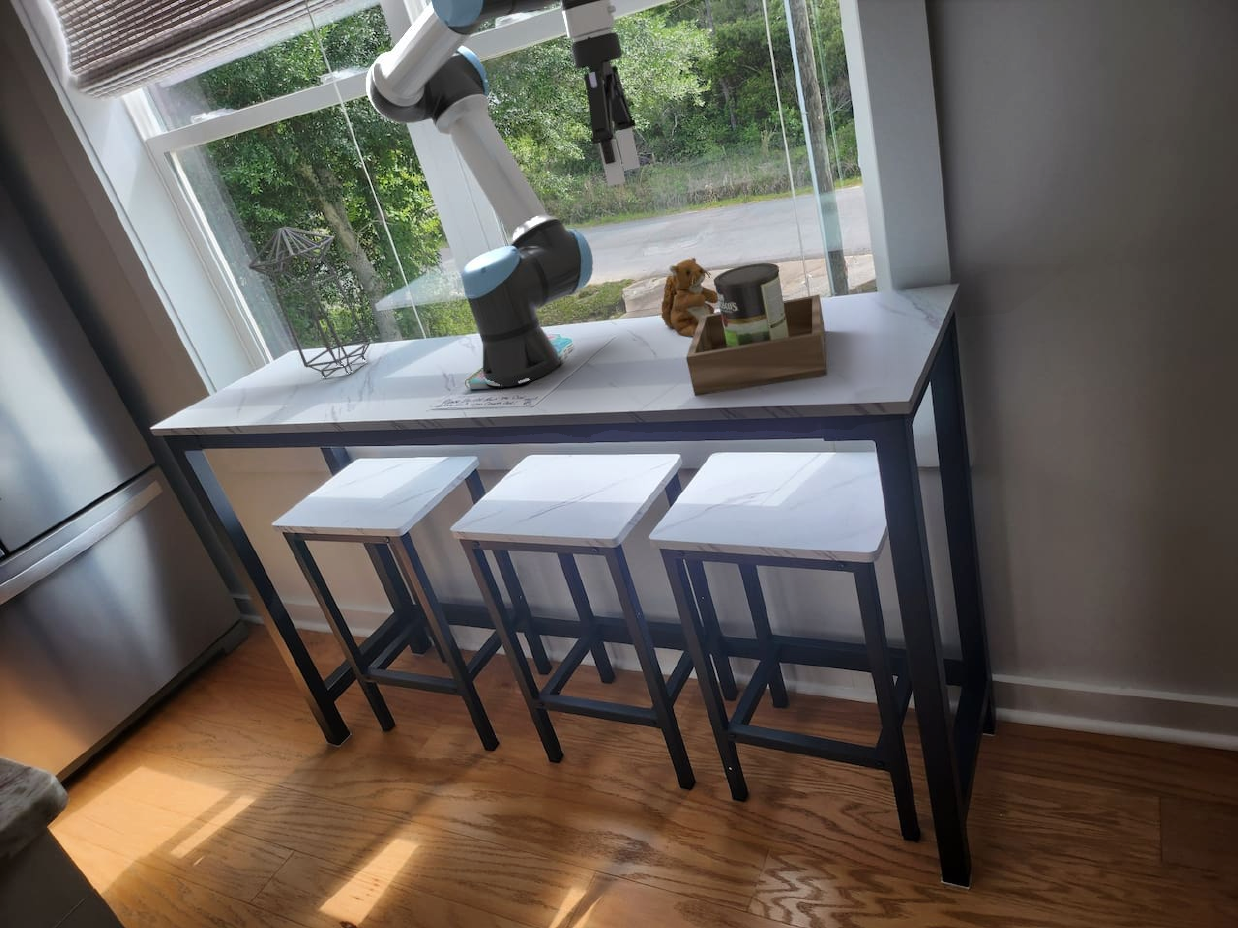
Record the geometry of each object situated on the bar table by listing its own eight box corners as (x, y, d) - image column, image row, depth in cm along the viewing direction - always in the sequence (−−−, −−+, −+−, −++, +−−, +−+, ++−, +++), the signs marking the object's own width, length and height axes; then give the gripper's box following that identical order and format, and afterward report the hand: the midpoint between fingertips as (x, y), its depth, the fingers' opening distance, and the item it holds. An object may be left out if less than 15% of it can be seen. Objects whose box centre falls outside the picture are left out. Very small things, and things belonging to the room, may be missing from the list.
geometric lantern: (352, 380, 195) (286, 230, 181) (300, 389, 202) (231, 244, 187) (389, 354, 208) (330, 211, 193) (338, 363, 214) (278, 225, 200)
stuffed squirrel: (694, 338, 161) (679, 270, 155) (649, 331, 172) (634, 268, 166) (733, 320, 165) (720, 253, 160) (687, 314, 176) (673, 251, 171)
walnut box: (708, 350, 152) (701, 316, 150) (825, 330, 147) (819, 294, 144) (694, 395, 135) (686, 357, 132) (826, 375, 129) (820, 334, 126)
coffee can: (746, 374, 135) (729, 288, 129) (720, 359, 144) (703, 278, 138) (804, 353, 136) (790, 267, 131) (775, 340, 146) (760, 259, 140)
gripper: (599, 32, 120) (633, 185, 129) (630, 27, 142) (658, 159, 151) (549, 46, 122) (586, 196, 131) (588, 39, 144) (617, 168, 153)
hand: (624, 176), depth 141 cm, fingers open, 13 cm apart
